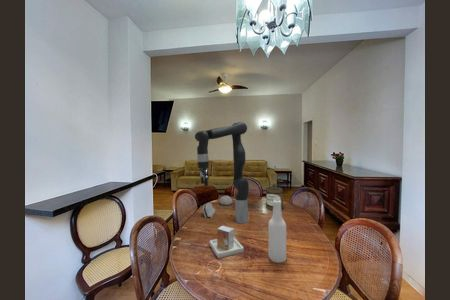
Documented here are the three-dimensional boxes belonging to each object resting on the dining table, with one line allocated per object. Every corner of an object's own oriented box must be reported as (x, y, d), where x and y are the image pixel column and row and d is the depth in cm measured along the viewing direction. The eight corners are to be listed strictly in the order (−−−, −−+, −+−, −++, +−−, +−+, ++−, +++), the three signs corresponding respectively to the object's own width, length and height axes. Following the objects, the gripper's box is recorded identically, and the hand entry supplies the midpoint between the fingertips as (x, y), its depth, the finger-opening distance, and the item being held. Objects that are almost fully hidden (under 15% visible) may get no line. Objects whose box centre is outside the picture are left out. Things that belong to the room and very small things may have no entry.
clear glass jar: (263, 209, 174) (263, 184, 174) (269, 204, 187) (269, 182, 186) (280, 212, 166) (280, 186, 166) (284, 207, 179) (284, 183, 178)
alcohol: (273, 251, 106) (272, 197, 105) (288, 257, 100) (288, 200, 99) (265, 259, 99) (265, 201, 98) (282, 265, 94) (281, 204, 93)
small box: (217, 246, 110) (216, 228, 109) (222, 242, 114) (222, 225, 114) (228, 251, 105) (228, 232, 105) (234, 246, 110) (234, 228, 109)
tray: (232, 239, 120) (232, 235, 119) (243, 252, 106) (243, 247, 106) (209, 244, 114) (209, 240, 114) (217, 258, 100) (217, 253, 100)
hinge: (211, 218, 155) (206, 206, 155) (205, 219, 156) (201, 208, 156) (215, 210, 171) (211, 200, 172) (210, 212, 172) (206, 201, 172)
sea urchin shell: (234, 202, 196) (233, 194, 196) (230, 206, 183) (230, 198, 183) (221, 201, 200) (221, 193, 200) (217, 205, 187) (217, 197, 186)
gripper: (211, 161, 125) (212, 185, 125) (205, 159, 138) (206, 182, 139) (200, 162, 122) (201, 187, 123) (195, 160, 135) (196, 183, 136)
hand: (204, 184), depth 131 cm, fingers open, 8 cm apart
